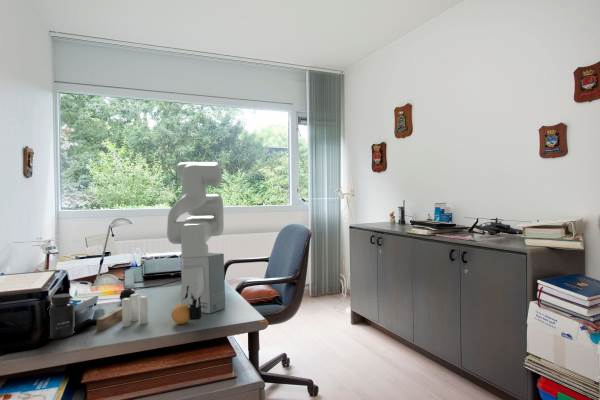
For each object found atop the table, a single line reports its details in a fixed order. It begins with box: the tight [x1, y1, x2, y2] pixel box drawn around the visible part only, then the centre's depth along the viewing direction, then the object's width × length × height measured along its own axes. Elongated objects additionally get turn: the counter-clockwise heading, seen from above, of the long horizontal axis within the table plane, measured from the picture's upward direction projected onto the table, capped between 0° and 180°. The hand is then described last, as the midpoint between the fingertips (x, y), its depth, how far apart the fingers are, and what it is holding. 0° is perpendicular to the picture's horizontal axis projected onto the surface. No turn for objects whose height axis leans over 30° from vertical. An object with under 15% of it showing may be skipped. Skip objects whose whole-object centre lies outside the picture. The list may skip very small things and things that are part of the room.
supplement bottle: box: [49, 293, 75, 340], centre depth 111 cm, size 7×7×12 cm
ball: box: [171, 304, 190, 325], centre depth 119 cm, size 6×6×6 cm
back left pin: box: [121, 298, 132, 328], centre depth 118 cm, size 2×2×8 cm
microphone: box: [119, 288, 136, 303], centre depth 151 cm, size 6×6×20 cm
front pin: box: [138, 295, 149, 325], centre depth 121 cm, size 2×2×8 cm
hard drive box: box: [180, 251, 226, 314], centre depth 135 cm, size 16×8×20 cm, turn 56°
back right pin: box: [130, 293, 140, 322], centre depth 123 cm, size 2×2×8 cm
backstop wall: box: [96, 305, 122, 332], centre depth 121 cm, size 14×2×4 cm, turn 175°
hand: (195, 318), depth 119 cm, fingers closed
